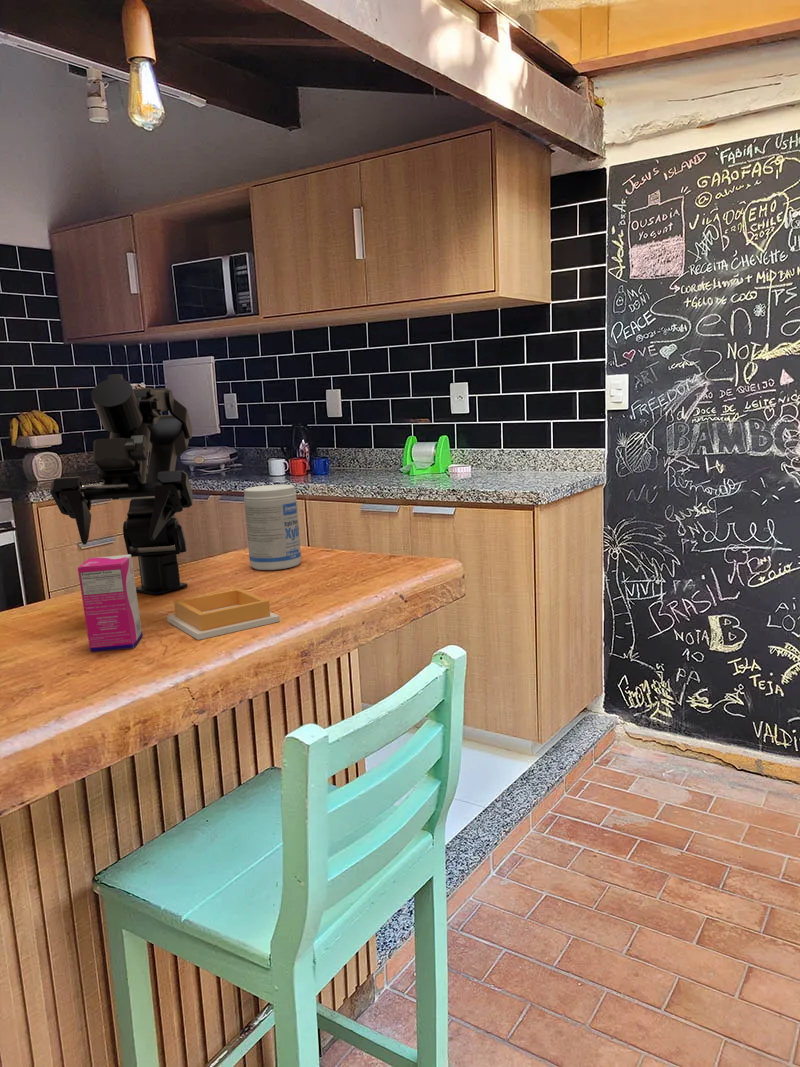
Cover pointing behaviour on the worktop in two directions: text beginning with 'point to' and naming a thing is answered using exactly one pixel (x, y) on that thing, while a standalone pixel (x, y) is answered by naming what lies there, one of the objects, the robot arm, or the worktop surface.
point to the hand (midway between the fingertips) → (117, 540)
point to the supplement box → (110, 603)
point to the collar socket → (221, 613)
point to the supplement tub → (272, 527)
